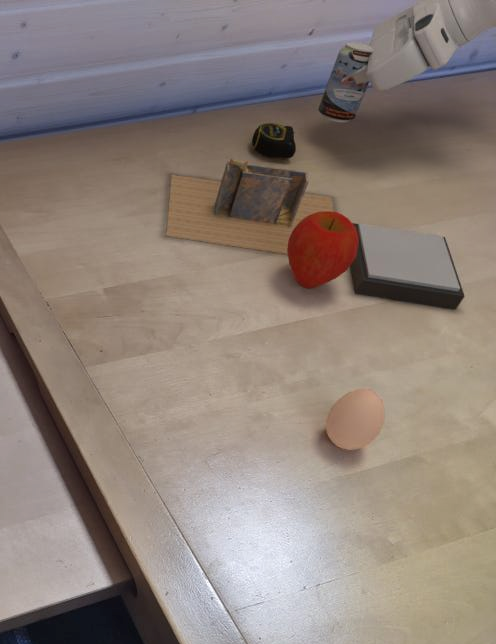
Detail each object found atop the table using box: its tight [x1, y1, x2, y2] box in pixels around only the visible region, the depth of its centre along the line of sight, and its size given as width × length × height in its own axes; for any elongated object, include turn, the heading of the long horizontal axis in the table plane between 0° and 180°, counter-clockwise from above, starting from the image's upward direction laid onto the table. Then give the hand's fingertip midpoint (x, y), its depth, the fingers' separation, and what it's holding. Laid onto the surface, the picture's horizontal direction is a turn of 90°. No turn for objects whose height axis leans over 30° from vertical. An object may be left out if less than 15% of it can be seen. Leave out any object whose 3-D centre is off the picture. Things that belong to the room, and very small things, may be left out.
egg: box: [325, 388, 386, 451], centre depth 76 cm, size 5×5×8 cm
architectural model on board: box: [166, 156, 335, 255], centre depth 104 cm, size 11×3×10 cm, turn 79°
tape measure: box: [251, 122, 297, 159], centre depth 119 cm, size 7×7×4 cm
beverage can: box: [317, 41, 374, 123], centre depth 116 cm, size 6×7×12 cm
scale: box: [350, 222, 466, 310], centre depth 99 cm, size 13×13×3 cm
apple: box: [287, 211, 359, 290], centre depth 93 cm, size 9×8×11 cm
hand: (344, 75), depth 117 cm, fingers closed on beverage can, 5 cm apart
